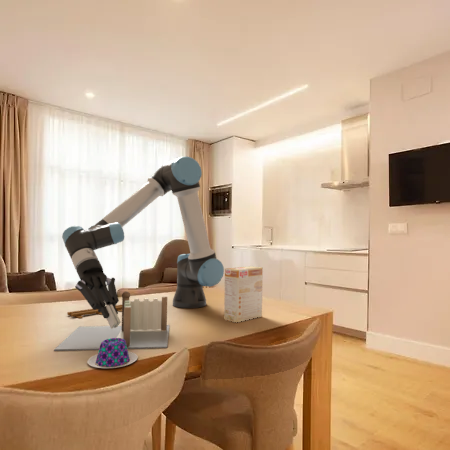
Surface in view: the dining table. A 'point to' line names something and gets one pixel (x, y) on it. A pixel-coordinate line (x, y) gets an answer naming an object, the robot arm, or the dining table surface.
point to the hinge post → (124, 298)
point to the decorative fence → (90, 312)
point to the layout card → (97, 334)
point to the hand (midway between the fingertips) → (115, 325)
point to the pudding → (112, 354)
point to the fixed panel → (149, 314)
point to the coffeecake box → (243, 293)
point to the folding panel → (127, 322)
